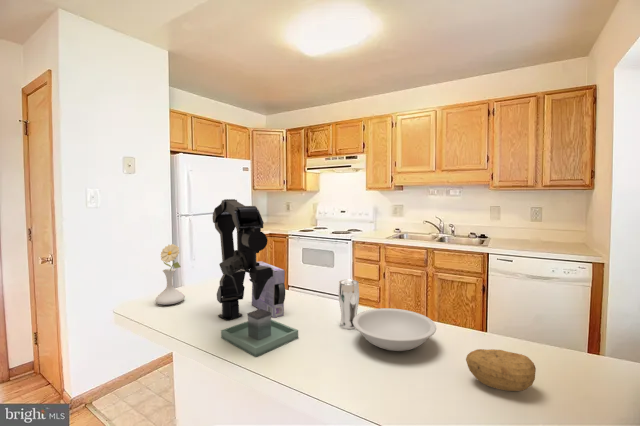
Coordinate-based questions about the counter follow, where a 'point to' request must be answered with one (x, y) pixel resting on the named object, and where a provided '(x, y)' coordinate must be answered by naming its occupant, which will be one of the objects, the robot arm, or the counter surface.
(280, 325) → the tray
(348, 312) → the beer glass
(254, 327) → the capped grey block
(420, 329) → the soup bowl
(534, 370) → the potato
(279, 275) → the cake pan box
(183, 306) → the counter surface
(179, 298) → the flower in vase
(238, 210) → the robot arm
